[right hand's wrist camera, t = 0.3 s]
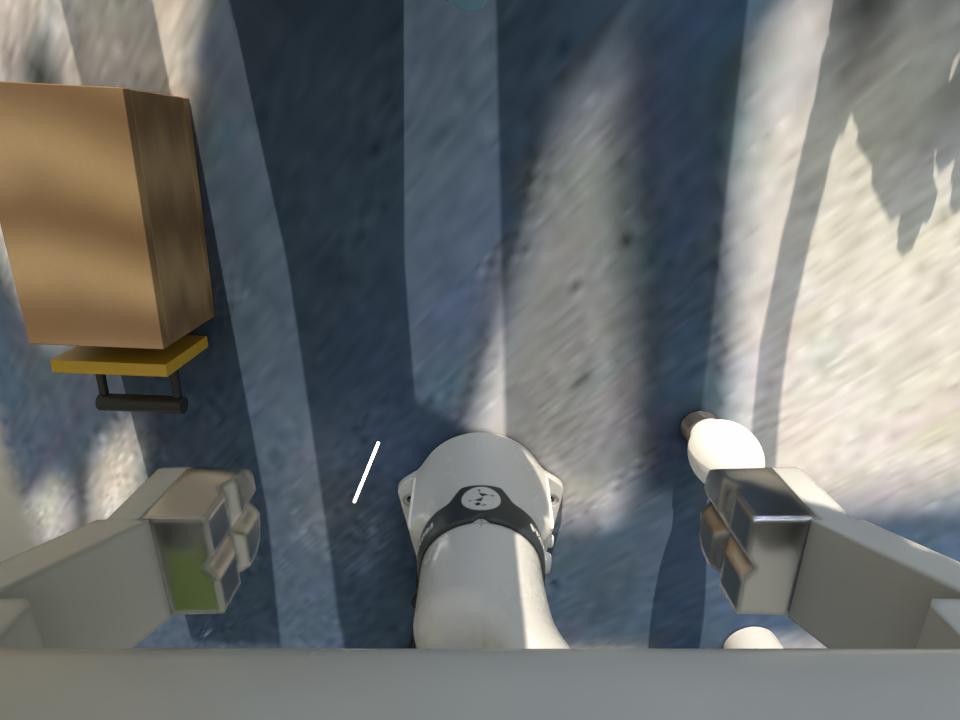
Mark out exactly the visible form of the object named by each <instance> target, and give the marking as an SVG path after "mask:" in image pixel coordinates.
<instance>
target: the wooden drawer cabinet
mask: <svg viewBox="0 0 960 720" xmlns="http://www.w3.org/2000/svg"><path fill="white" fill-rule="evenodd" d="M0 224H1V228H2V232H3V236H4V240H5V244H6V248H7V252H8V257H9V261H10V265H11V269H12V273H13V277H14V281H15V285H16V290H17V294H18V298H19V302H20V306H21V310H22V314H23V318H24V322H25V327H26V331H27V335H28V339H29V343H30V344H49V345H73V346H96V347H120V348H143V349H165V348H166V347H168V346H169V345H171V344H172V343H174V342H175V341H177V340H179V339H180V338H182V337H183V336H185V335H186V334H188V333H189V332H191V331H192V330H194V329H196V328H197V327H199V326H200V325H202V324H203V323H205V322H206V321H208V320H210V319H211V318H213V317H214V316H215V312H214V304H213V295H212V287H211V279H210V270H209V262H208V254H207V246H206V237H205V229H204V221H203V213H202V204H201V196H200V188H199V179H198V171H197V163H196V155H195V146H194V138H193V130H192V121H191V113H190V105H189V99H188V98H183V97H177V96H171V95H165V94H159V93H152V92H146V91H140V90H134V89H128V88H121V87H101V86H81V85H61V84H41V83H21V82H1V81H0Z"/></svg>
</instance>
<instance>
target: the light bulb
mask: <svg viewBox="0 0 960 720" xmlns="http://www.w3.org/2000/svg"><path fill="white" fill-rule="evenodd" d="M681 432H682V434H683V436H684V437H685V439H686V440H687V442H688V449H687V452H688V459H689V463H690V465H691V468H692V470H693V471H694V473H695V474H696V476H697V477H698V478H699V479H700V480H701V481H702V482H703V483H704V484H705V481H706V477H707V475H708V472H709V470H712V469H739V468H765V456H764V453H763V450H762V447H761V445H760V443H759V441H758V440H757V439H756V437H755V436H754V435H753V434H752V433H751V432H750V431H749V430H748V429H746V428H745V427H743V426H742V425H740V424H738V423H735V422H733V421H729V420H722V419H717V418H716V417H715V416H714V415H713V414H711V413H709V412H705V411H698V412H694V413H691V414H689V415H688V416H687V417H686V418H685V419H684V420H683V421H682V424H681Z"/></svg>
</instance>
